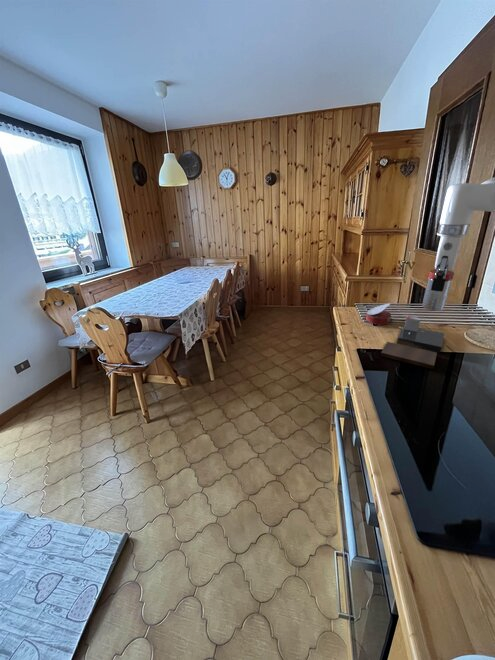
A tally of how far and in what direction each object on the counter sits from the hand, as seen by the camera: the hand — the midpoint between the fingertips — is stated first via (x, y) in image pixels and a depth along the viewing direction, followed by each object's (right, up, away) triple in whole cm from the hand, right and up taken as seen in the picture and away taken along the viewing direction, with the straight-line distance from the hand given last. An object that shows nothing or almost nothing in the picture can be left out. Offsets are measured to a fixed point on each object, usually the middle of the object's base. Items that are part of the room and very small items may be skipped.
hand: (438, 286), depth 92 cm
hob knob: (+2, -14, +19) cm, 24 cm away
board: (-6, -23, +7) cm, 25 cm away
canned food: (-4, -10, +34) cm, 36 cm away
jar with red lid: (0, -6, +3) cm, 7 cm away
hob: (+4, -18, +16) cm, 24 cm away
